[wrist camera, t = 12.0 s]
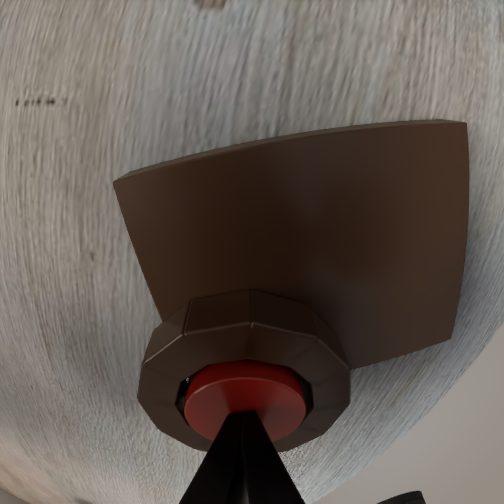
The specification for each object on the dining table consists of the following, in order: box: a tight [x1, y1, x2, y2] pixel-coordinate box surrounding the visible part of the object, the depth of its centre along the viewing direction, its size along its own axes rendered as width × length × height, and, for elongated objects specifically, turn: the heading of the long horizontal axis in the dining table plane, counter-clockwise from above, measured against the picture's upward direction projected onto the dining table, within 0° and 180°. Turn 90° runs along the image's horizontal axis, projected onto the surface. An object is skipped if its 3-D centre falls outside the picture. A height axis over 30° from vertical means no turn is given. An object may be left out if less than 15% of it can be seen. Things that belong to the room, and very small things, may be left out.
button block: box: [113, 119, 469, 453], centre depth 9 cm, size 11×10×3 cm
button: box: [184, 359, 306, 442], centre depth 9 cm, size 4×4×2 cm
